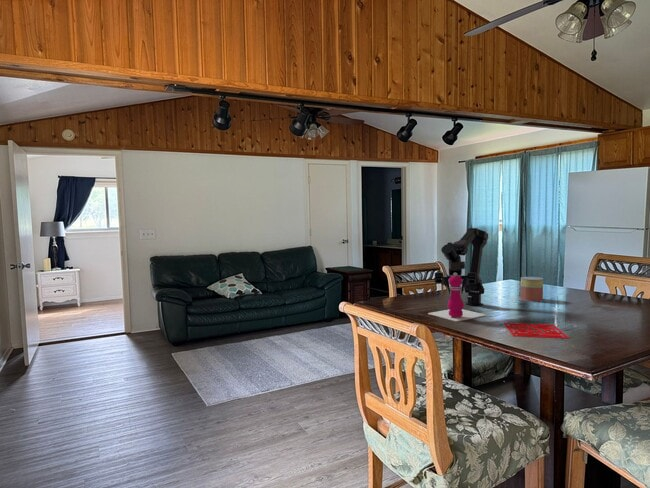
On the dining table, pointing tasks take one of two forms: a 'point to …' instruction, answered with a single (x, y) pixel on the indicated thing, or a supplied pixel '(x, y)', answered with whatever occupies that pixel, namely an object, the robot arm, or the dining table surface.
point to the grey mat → (465, 316)
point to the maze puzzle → (530, 333)
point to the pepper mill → (455, 296)
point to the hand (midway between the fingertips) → (455, 293)
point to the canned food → (532, 289)
